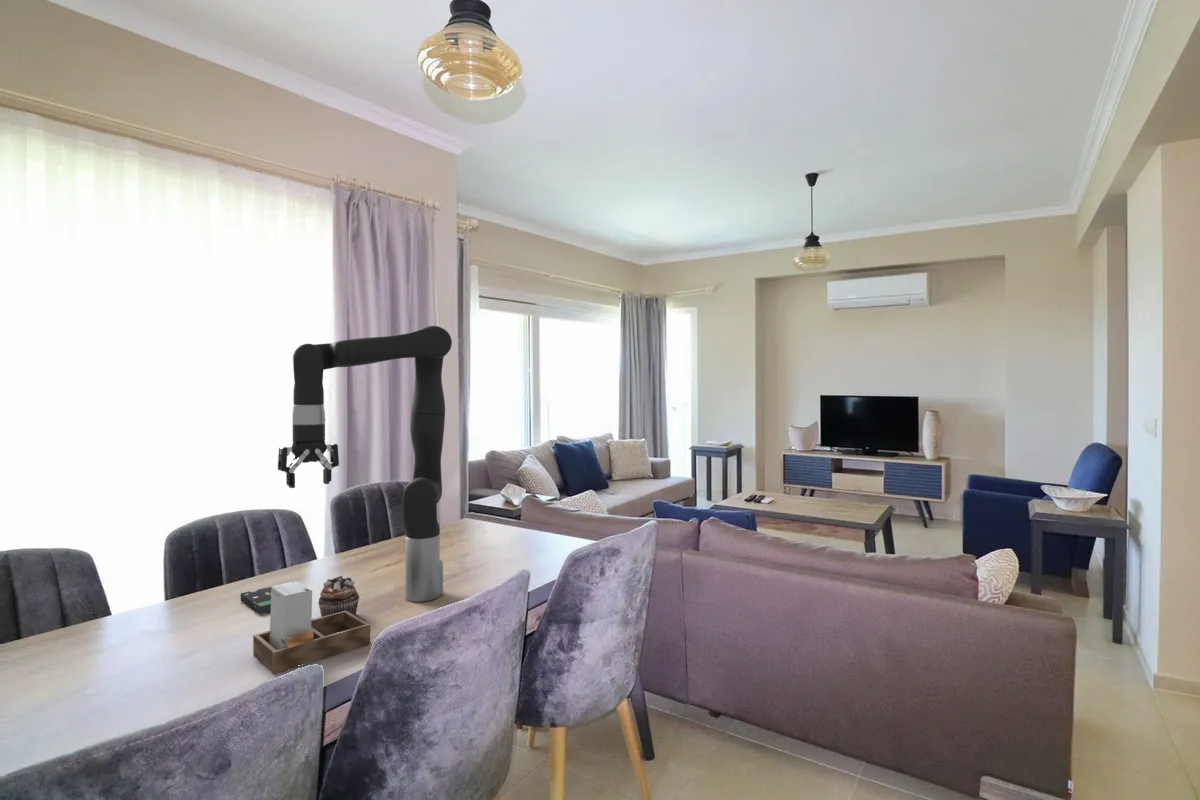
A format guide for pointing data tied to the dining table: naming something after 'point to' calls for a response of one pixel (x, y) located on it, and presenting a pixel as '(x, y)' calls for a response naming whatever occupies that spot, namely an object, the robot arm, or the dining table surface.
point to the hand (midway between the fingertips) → (309, 485)
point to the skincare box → (289, 612)
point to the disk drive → (258, 600)
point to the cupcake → (338, 596)
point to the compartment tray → (314, 642)
